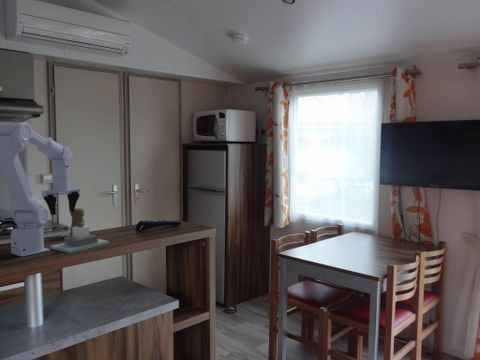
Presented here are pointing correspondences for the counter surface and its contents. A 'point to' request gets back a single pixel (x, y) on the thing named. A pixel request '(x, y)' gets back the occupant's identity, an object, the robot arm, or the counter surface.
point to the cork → (76, 218)
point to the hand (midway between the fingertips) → (62, 213)
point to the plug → (80, 231)
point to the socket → (79, 244)
